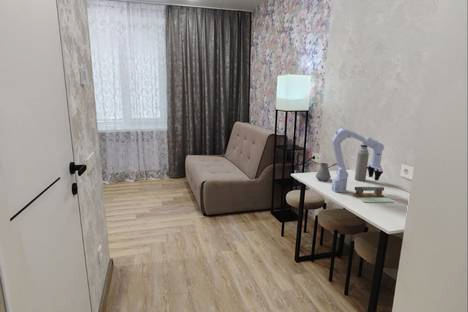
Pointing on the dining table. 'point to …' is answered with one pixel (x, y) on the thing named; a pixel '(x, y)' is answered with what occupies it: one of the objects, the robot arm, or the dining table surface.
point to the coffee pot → (324, 172)
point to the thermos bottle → (361, 163)
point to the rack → (361, 194)
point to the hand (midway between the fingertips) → (373, 178)
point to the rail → (369, 188)
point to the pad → (376, 200)
